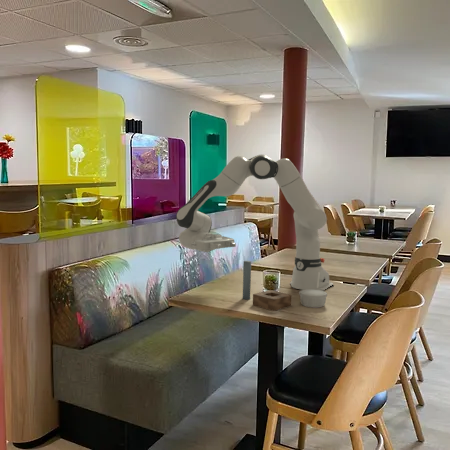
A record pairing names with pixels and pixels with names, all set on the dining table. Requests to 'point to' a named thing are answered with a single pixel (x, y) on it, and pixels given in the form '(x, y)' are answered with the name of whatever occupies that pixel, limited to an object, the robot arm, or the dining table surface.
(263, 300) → the wooden candle holder
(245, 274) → the dowel
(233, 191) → the robot arm
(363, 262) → the dining table surface
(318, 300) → the ramekin
